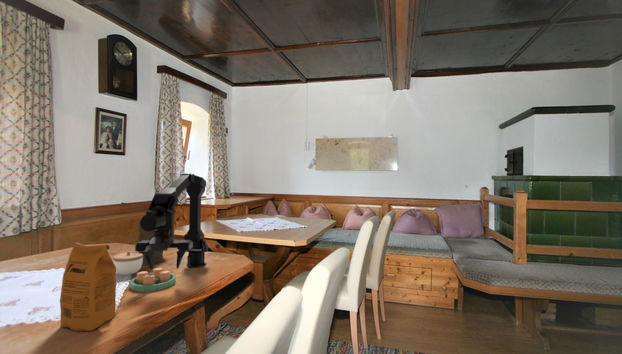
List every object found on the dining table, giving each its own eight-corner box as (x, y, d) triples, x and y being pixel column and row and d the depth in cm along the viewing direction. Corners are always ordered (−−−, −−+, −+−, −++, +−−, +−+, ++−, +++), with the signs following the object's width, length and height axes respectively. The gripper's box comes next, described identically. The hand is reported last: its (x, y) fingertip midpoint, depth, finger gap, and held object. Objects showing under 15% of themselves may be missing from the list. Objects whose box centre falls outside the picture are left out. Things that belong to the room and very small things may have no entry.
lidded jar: (129, 279, 119) (129, 255, 119) (106, 277, 121) (106, 253, 121) (149, 271, 130) (149, 248, 130) (127, 269, 132) (127, 247, 132)
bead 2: (151, 285, 111) (152, 274, 111) (156, 287, 109) (156, 276, 109) (141, 287, 109) (141, 276, 109) (145, 290, 106) (145, 278, 106)
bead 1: (145, 281, 115) (145, 270, 115) (149, 283, 113) (149, 272, 113) (135, 283, 112) (135, 273, 112) (139, 286, 110) (139, 275, 110)
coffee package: (88, 312, 91) (88, 238, 91) (121, 317, 88) (122, 241, 88) (52, 328, 82) (52, 245, 81) (88, 335, 78) (88, 249, 78)
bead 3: (154, 278, 118) (155, 268, 118) (164, 278, 119) (164, 267, 119) (151, 281, 115) (151, 271, 115) (161, 281, 115) (161, 270, 115)
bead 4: (158, 285, 111) (158, 274, 111) (161, 281, 115) (161, 271, 115) (168, 284, 112) (168, 273, 112) (171, 281, 115) (171, 270, 115)
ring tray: (164, 276, 123) (164, 269, 123) (183, 285, 114) (183, 278, 114) (123, 286, 112) (123, 279, 112) (140, 297, 102) (140, 289, 102)
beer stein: (149, 265, 136) (152, 220, 138) (130, 263, 139) (133, 219, 141) (173, 259, 151) (176, 218, 152) (156, 257, 154) (158, 217, 155)
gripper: (127, 230, 104) (127, 276, 104) (184, 230, 106) (183, 275, 106) (142, 225, 115) (142, 266, 115) (193, 225, 117) (193, 265, 117)
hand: (164, 268), depth 113 cm, fingers open, 9 cm apart
